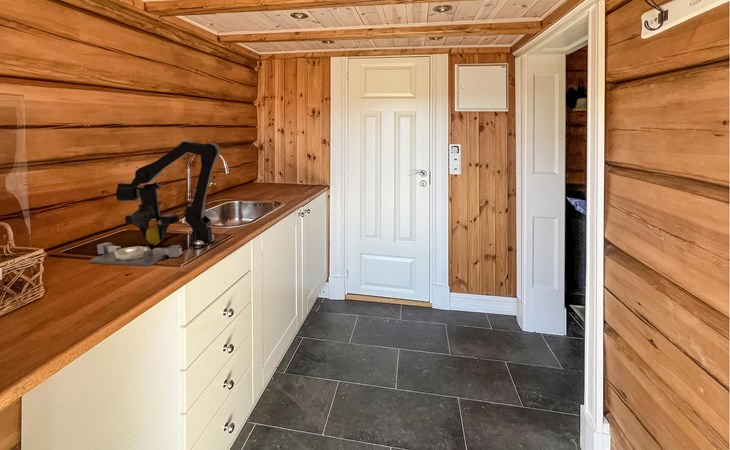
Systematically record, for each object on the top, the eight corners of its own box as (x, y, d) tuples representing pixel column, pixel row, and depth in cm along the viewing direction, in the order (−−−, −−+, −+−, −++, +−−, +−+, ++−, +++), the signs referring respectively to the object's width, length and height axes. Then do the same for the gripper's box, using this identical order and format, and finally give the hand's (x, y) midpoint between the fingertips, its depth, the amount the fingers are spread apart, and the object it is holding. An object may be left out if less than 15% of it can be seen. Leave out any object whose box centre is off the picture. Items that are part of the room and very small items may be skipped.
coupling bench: (186, 253, 146) (185, 244, 145) (162, 266, 132) (161, 256, 131) (107, 250, 150) (106, 241, 149) (76, 262, 136) (75, 252, 135)
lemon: (148, 244, 157) (146, 224, 155) (164, 242, 159) (162, 223, 157) (146, 248, 152) (143, 227, 150) (162, 246, 154) (159, 226, 152)
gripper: (111, 203, 145) (117, 245, 149) (159, 205, 142) (164, 247, 146) (132, 198, 156) (137, 237, 159) (177, 199, 153) (181, 239, 157)
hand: (154, 240), depth 155 cm, fingers closed on lemon, 5 cm apart
